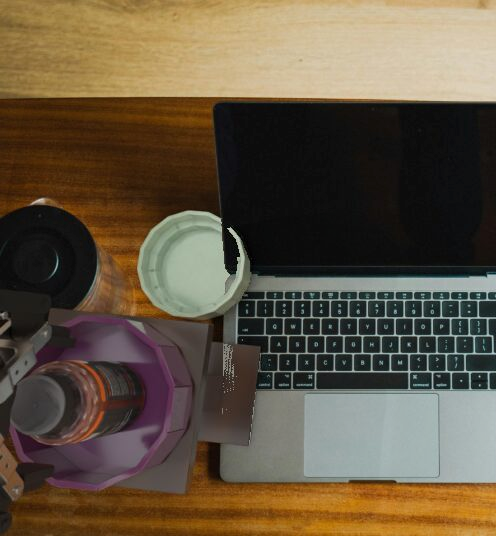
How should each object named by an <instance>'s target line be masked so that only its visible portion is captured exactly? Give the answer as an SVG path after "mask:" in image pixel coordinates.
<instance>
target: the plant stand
mask: <svg viewBox="0 0 496 536" xmlns="http://www.w3.org/2000/svg"><path fill="white" fill-rule="evenodd" d="M81 315H90V316H101V317H111V318H121V319H128V320H133V321H138V322H143V323H146V324H148V325H149V326H150V327H152V328H153V329H154V330H156V331H158V332H159V333H161V334H162V335H164V336H165V337H166V338H167V339H168V340H169V341H171V342H172V343H173V344H174V345H175V346H177V348H178V349H179V352H180V354H181V356H182V357H183V359H184V362H185V364H186V366H187V369H188V372H189V375H190V380H191V383H192V404H191V411H190V415H189V419H188V422H187V428H185V429H186V430H185V431H184V433H183V434H182V436H181V438H180V439H179V441H178V442H177V444H176V445H175V447H174V448H173V449H172V450H171V451H170V453H169V454H168V455H167V456H166V457H165V459H164V460H163V461H162V463H161V464H159V465H158V466H155V467H153V468H151V469H149V470H147V471H145V472H143V473H140V474H138V475H136V476H134V477H131V478H129V479H127V480H125V481H123V482H120V483H118V484H115V485H112V486H111V487H112V488H113V487H114V488H122V489H130V490H131V489H132V490H139V491H149V492H157V493H166V494H173V495H174V494H175V495H184V496H186V495H187V494H189V493H191V491H192V487H193V479H194V471H195V465H196V464H195V463H196V458H197V452H198V451H197V449H198V444H199V443H198V442H207V443H217V444H225V445H234V446H242V447H243V446H245V447H249V446H250V445H249V440H250V432H251V424H252V415H253V407H254V400H255V392H256V384H257V376H258V369H259V361H260V353H261V348H262V349H263V346H262V345H251V344H243V343H233V344H230V343H231V342H221V341H213V337H214V336H213V335H214V328H215V325H214V324H213V323H208V322H200V321H199V322H198V321H188V320H180V319H179V320H178V319H167V318H157V317H147V316H137V315H126V314H117V313H107V312H98V311H97V312H96V311H87V310H76V309H66V308H54V307H50V310H49V311H48V318H47V322H46V323H47V324H50V325H57V326H58V325H61V324H63V323H65V322H67V321H70V320H72V319H74V318H76V317H79V316H81ZM223 343H224V344H225V343H226V344H227V343H228V345H227V347H228V346H229V345H231V346H230V350H231V351H232V349H233V352H232V359H231V372H232V370H233V369H232V367H233V366H234V377H232V375H233V374H232V373H231V372H230V375H229V374H228V373H229V368H230V367H229V365H230V364H229V363H230V362H229V360H230V359H228V371H226V369H227V368H226V367H227V365H226V364H227V363H226V364H225V365H226V367H225V368H226V369H225V370H224V376H223ZM232 347H233V348H232ZM228 348H229V347H228ZM231 348H232V349H231ZM224 349H225V346H224ZM224 351H225V350H224ZM231 351H229V358H231V357H230V356H231V354H230V352H231ZM226 352H227V351H226ZM224 354H225V353H224ZM226 355H227V353H226ZM226 358H227V357H226ZM226 358H225V359H226ZM225 362H227V360H226V361H225ZM233 364H234V365H233ZM232 365H233V366H232ZM225 371H226V372H227V374H226V372H225ZM226 375H227V376H226ZM229 376H230V378H229ZM236 376H237V377H236ZM226 378H227V379H226ZM232 378H233V379H232ZM229 379H230V380H229ZM232 381H234V383H233V382H232ZM229 382H230V383H229ZM223 383H224V384H223ZM233 384H234V385H233ZM223 386H224V387H223ZM233 387H234V388H233ZM230 388H231V389H230ZM227 389H228V390H227ZM233 389H234V390H233ZM230 390H231V391H230ZM224 391H225V393H224ZM227 391H228V392H227ZM222 408H223V414H222ZM226 409H227V410H226ZM251 433H252V432H251ZM250 441H251V440H250ZM21 463H24V462H23V461H22V460H21Z"/></svg>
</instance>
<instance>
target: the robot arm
mask: <svg viewBox="0 0 496 536" xmlns="http://www.w3.org/2000/svg"><path fill="white" fill-rule="evenodd" d="M50 308H52V297H51V296H50V295H49V294H46V293H38V292H29V291H18V290H10V289H0V320H4V321H5V320H7V319H8V317H9V313H10V320H8V321H6V322H5V323H4V324H3V325H2V326H1V327H0V536H2V535H5V534H6V533H8V532H9V530H10V528H11V526H12V523H13V514H12V513H11V512H9V509H10V506H11V504H12V502H13V501H17V500H19V499H20V498H21V497H22V495H24V494H28V493H30V492H33V491H37V490H40V489H41V488H42V487H43V486H45V483H46V480H45V479H47V478H50V477H53V475H54V469H55V465H51V464H42V463H34V462H24V463H22V462H18V461H17V460H16V458H15V457H14V456H13V454H12V453H11V451H10V450H9V449H8V447H7V446H6V445H5V440H6V439H7V440H8V439H9V435H10V431H9V429H10V413H11V409H12V406H13V403H14V400H15V396H16V391H17V386H18V385H16V384H17V383H18V382H19V381H20V380H21V378H22V377H23V376H24V375H25V374H26V373H27V372H28V371H29V370H30V369H31V368H32V367H33V366H34V365H35V364H36V362H37V358H36V353H37V352H38V351H39V350H40V349H41V348H42V347H43V346H51V347H64V348H75V347H76V341H77V338H70V333H71V330H70V329H69V328H68V327H64V326H57V325H50V324H47V323H48V322H46V320H45V314H47V313H49V312H50Z"/></svg>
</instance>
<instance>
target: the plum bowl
mask: <svg viewBox="0 0 496 536" xmlns="http://www.w3.org/2000/svg"><path fill="white" fill-rule="evenodd" d="M58 326H64V327H68V328H69V329H70V330H71V333H70V338H77V341H76V347H75V348H64V347H51V346H43V347H42V348H41V349H40V350H39V351H38V352H37V353H36V358H37V362H36V364H35V365H34V366H33V367H32V368H31V369H30V370H29V371H28V372H27V373H26V374H25V375H24V376H23V377H22V378H21V380H22V379H24V378H26V377H28V376H29V375H30V374H31V373H32V372H33V371H34V370H36V369H37V368H39V367H40V366H42V365H45V364H47V363H50V362H54V361H60V360H76V361H78V360H80V361H114V362H120V363H123V364H126V365H128V366H130V367H131V368H133V369H134V370H135V371H136V372H137V373H138V374H139V376H140V377H141V379H142V381H143V384H144V387H145V393H146V394H145V403H144V407H143V410H142V412H141V414H140V416H139V418H138V419H137V420H136V421H135V422H134V423H133V424H132V425H131V426H130V427H128V428H127V429H125V430H123V431H121V432H118V433H115V434H112V435H107V436H103V437H98V438H94V439H90V440H85V441H81V442H76V443H72V444H67V445H47V444H43V443H41V442H38V441H37V440H35V439H33V438H32V437H31V436H29V435H26V434H23V433H21V432H19V431H18V430H17V429H16V428H15V427H14V426H13V425H12V424H11V422H10V429H9V435H10V437H11V439H12V443H13V446H14V449H15V452H16V455H17V457H18V460H20V461H21V462H22V461H23V462H34V463H42V464H51V465H55V469H54V475H53V477H50V478H47V479H45V482H47V483H48V484H49V485H51V486H52V487H57V488H66V489H73V490H82V491H89V492H90V491H92V492H98V491H102V490H105V489H107V488H110V487H113V486H112V485H115V484H118V483H120V482H123V481H125V480H127V479H129V478H131V477H134V476H136V475H138V474H140V473H143V472H145V471H147V470H149V469H151V468H153V467H155V466H158V465H159V464H161V463H162V461H163V460H164V459H165V457H166V456H167V455H168V454H169V453H170V451H171V450H172V449H173V448H174V447H175V445H176V444H177V442H178V441H179V439H180V438H181V436H182V434H183V433H184V431H185V430H186V429H185V428H187V422H188V419H189V415H190V411H191V404H192V383H191V380H190V375H189V372H188V369H187V366H186V364H185V362H184V359H183V357H182V356H181V354H180V352H179V349H178V348H177V346H175V345H174V344H173V343H172V342H171V341H169V340H168V339H167V338H166V337H165V336H164V335H162V334H161V333H159V332H158V331H156V330H154V329H153V328H152V327H150V326H149V325H148V324H146V323H143V322H138V321H133V320H128V319H121V318H111V317H101V316H90V315H81V316H79V317H76V318H74V319H72V320H70V321H67V322H65V323H63V324H61V325H58ZM21 380H20V381H21ZM20 381H19V382H20Z"/></svg>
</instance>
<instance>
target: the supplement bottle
mask: <svg viewBox="0 0 496 536" xmlns="http://www.w3.org/2000/svg"><path fill="white" fill-rule="evenodd" d="M16 385H18V386H17V391H16V396H15V400H14V403H13V406H12V409H11V413H10V422H11V424H12V425H13V426H14V427H15V428H16V429H17V430H18V431H19V432H21V433H23V434H26V435H29V436H31V437H32V438H33V439H35V440H37V441H38V442H41V443H43V444H47V445H67V444H72V443H76V442H81V441H85V440H90V439H94V438H98V437H103V436H107V435H112V434H115V433H118V432H121V431H123V430H125V429H127V428H128V427H130V426H131V425H132V424H133V423H134V422H135V421H136V420H137V419H138V418H139V416H140V414H141V412H142V410H143V407H144V403H145V394H146V393H145V387H144V384H143V381H142V379H141V377H140V376H139V374H138V373H137V372H136V371H135V370H134V369H133V368H131V367H130V366H128V365H126V364H123V363H120V362H114V361H80V360H78V361H76V360H60V361H54V362H50V363H47V364H45V365H42V366H40V367H39V368H37V369H36V370H34V371H33V372H32V373H31V374H30V375H29V376H28V377H26V378H24V379H22V380H21V381H20V382H18V383H17V384H16Z"/></svg>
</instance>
